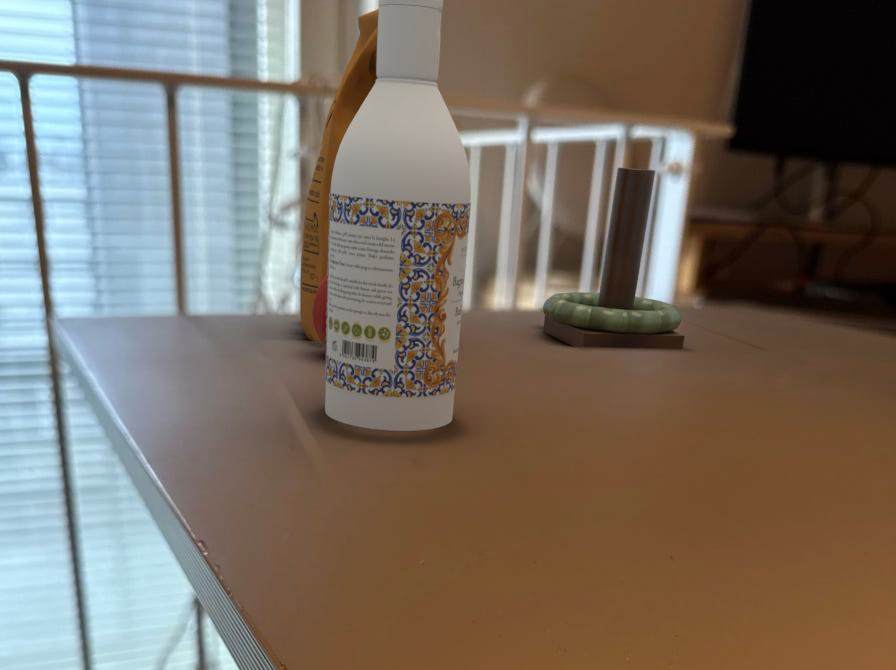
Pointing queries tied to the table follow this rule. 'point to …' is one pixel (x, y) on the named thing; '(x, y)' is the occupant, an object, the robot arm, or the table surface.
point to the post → (621, 268)
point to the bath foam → (398, 238)
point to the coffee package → (339, 118)
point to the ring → (612, 314)
